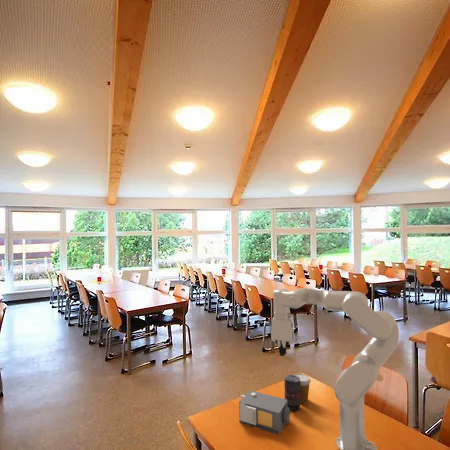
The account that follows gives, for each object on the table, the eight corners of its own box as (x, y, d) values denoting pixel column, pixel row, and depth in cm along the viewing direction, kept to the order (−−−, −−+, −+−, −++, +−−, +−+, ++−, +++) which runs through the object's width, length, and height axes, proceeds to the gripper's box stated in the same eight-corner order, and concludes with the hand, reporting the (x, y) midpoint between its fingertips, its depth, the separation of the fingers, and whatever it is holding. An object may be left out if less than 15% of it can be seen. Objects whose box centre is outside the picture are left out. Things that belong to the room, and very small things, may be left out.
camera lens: (301, 413, 151) (300, 382, 151) (284, 411, 152) (284, 381, 152) (300, 404, 159) (300, 375, 159) (284, 402, 160) (284, 373, 160)
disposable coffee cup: (288, 397, 165) (288, 375, 165) (302, 393, 169) (302, 371, 169) (300, 407, 156) (299, 383, 156) (314, 402, 160) (314, 379, 160)
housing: (291, 419, 146) (290, 399, 146) (282, 436, 134) (281, 413, 134) (249, 407, 156) (249, 388, 156) (238, 422, 145) (238, 401, 145)
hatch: (256, 424, 141) (256, 398, 141) (255, 425, 140) (254, 400, 140) (241, 419, 145) (240, 394, 145) (239, 420, 144) (239, 395, 144)
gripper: (299, 315, 144) (300, 354, 143) (269, 312, 151) (270, 349, 151) (295, 319, 137) (296, 360, 137) (264, 316, 144) (264, 355, 144)
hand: (282, 354), depth 144 cm, fingers closed
